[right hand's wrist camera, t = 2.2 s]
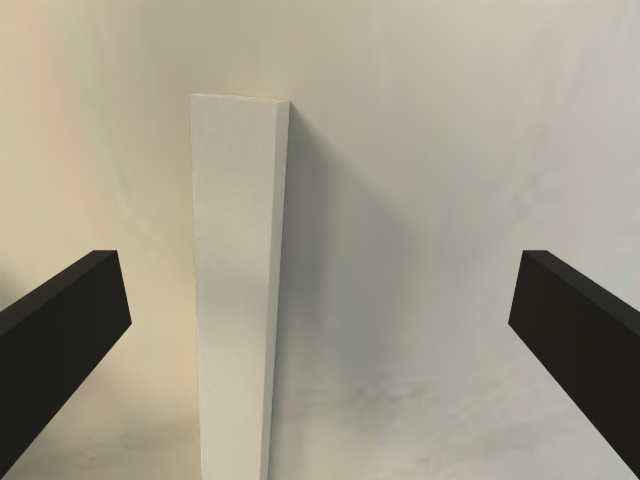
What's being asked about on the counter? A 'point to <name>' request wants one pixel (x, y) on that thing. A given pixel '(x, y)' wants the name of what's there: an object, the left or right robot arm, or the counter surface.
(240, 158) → the beam
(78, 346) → the right robot arm
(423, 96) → the counter surface
